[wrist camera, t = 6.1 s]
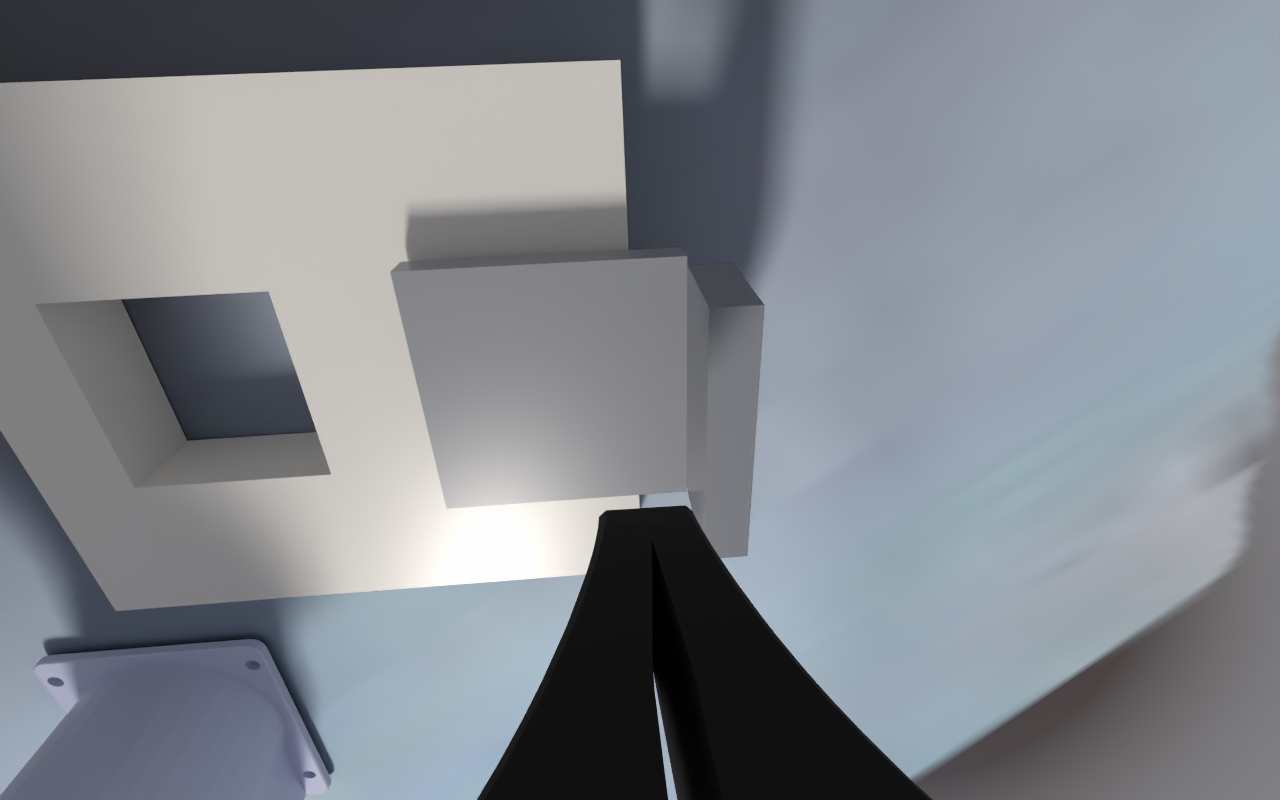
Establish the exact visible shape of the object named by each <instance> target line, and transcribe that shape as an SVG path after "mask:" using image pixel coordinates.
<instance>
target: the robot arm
mask: <svg viewBox="0 0 1280 800" xmlns="http://www.w3.org/2000/svg"><path fill="white" fill-rule="evenodd" d="M34 671H35V673H36V675H37V676H38V677H39V679H40V680H41V681H42V683H43V684H44V685H45V686H46V688H47V689H48V690H49V692H50V693H51V694H52V695H53V697H54V698H55V699H56V700H57V702H58V703H59V704H60V706H61V707H62V708H63V709H64V711H65V712H66V713H67V715H66V716H65V717H64V719H63V720H62V721H61V722H60V723H59V725H58V726H57V727H56V728H55V729H54V731H53V732H52V733H51V734H50V736H49V737H48V738H47V739H46V740H45V742H44V743H43V744H42V745H41V747H40V748H39V749H38V750H37V751H36V753H35V754H34V755H33V756H32V757H31V759H30V760H29V761H28V762H27V764H26V765H25V766H24V767H23V768H22V770H21V771H20V772H19V773H18V775H17V776H16V777H15V778H14V779H13V781H12V782H11V783H10V784H9V785H8V787H7V788H6V789H5V790H4V792H3V793H2V794H1V795H0V800H304V798H305V795H313V794H321V793H324V792H326V791H327V790H328V789H329V786H330V783H331V778H330V776H329V774H328V772H327V770H326V767H325V765H324V763H323V761H322V759H321V757H320V755H319V753H318V751H317V749H316V747H315V745H314V743H313V741H312V739H311V737H310V735H309V733H308V731H307V729H306V727H305V724H304V722H303V720H302V718H301V716H300V714H299V712H298V710H297V708H296V706H295V704H294V702H293V700H292V698H291V696H290V694H289V692H288V690H287V688H286V686H285V684H284V681H283V679H282V677H281V675H280V673H279V671H278V669H277V667H276V665H275V663H274V661H273V659H272V657H271V655H270V653H269V651H268V649H267V647H266V646H265V644H264V643H262V642H261V641H259V640H256V639H243V640H230V641H218V642H206V643H193V644H181V645H169V646H157V647H144V648H132V649H120V650H107V651H95V652H83V653H71V654H58V655H49V656H44V657H43V658H42V659H41V660H40V661H39V662H38V663H37V664H36V665H35V666H34ZM653 672H654V677H655V683H656V688H657V694H658V699H659V704H660V710H661V715H662V720H663V726H664V731H665V736H666V741H667V747H668V752H669V757H670V763H671V768H672V773H673V778H674V784H675V789H676V794H677V799H678V800H932V799H931V798H930V797H929V796H928V795H927V794H926V793H925V792H924V791H922V790H921V789H920V788H919V787H918V786H917V785H916V784H915V783H914V782H913V781H911V780H910V779H909V778H908V777H907V776H906V775H905V774H904V773H903V772H902V771H901V770H900V769H899V768H898V767H897V766H896V765H895V764H894V763H893V762H892V761H891V760H890V759H889V758H888V757H887V756H886V755H885V754H884V753H883V752H882V751H881V750H880V749H879V748H878V747H877V746H876V745H875V744H874V743H873V742H872V741H871V740H870V739H869V738H868V737H867V736H866V735H865V734H864V733H863V732H862V731H861V730H860V729H859V728H858V727H857V726H856V725H855V724H854V723H853V722H852V721H851V720H850V719H849V718H848V717H847V715H846V714H845V713H844V712H843V711H842V710H841V709H840V708H839V707H838V706H837V705H836V704H835V703H834V702H833V701H832V700H831V699H830V697H829V696H828V695H827V694H826V693H825V692H824V691H823V690H822V689H821V687H820V686H819V685H818V684H817V683H816V682H815V681H814V680H813V678H812V677H811V676H810V675H809V674H808V673H807V672H806V670H805V669H804V668H803V667H802V666H801V665H800V663H799V662H798V661H797V660H796V659H795V657H794V656H793V655H792V654H791V653H790V651H789V650H788V649H787V648H786V646H785V645H784V644H783V643H782V642H781V640H780V639H779V638H778V637H777V636H776V634H775V633H774V632H773V630H772V629H771V628H770V627H769V625H768V624H767V623H766V622H765V620H764V619H763V618H762V616H761V615H760V614H759V612H758V611H757V610H756V608H755V607H754V606H753V604H752V603H751V601H750V600H749V599H748V597H747V596H746V595H745V593H744V592H743V591H742V589H741V588H740V587H739V585H738V584H737V582H736V581H735V580H734V578H733V577H732V575H731V574H730V572H729V571H728V569H727V568H726V566H725V565H724V563H723V562H722V560H721V559H720V557H719V556H718V554H717V553H716V551H715V550H714V548H713V546H712V545H711V543H710V542H709V540H708V538H707V537H706V535H705V533H704V532H703V530H702V528H701V526H700V525H699V523H698V521H697V519H696V517H695V515H694V513H693V511H691V510H690V509H689V508H688V507H687V506H671V507H654V508H636V509H619V510H606V511H605V512H604V513H603V514H601V515H600V516H599V522H598V530H597V536H596V541H595V545H594V549H593V553H592V556H591V560H590V563H589V566H588V569H587V573H586V576H585V579H584V582H583V584H582V587H581V590H580V592H579V595H578V598H577V601H576V603H575V606H574V609H573V611H572V614H571V617H570V619H569V622H568V624H567V627H566V629H565V631H564V634H563V636H562V638H561V640H560V643H559V645H558V647H557V649H556V651H555V654H554V656H553V658H552V660H551V663H550V665H549V667H548V669H547V671H546V674H545V676H544V678H543V680H542V682H541V684H540V686H539V688H538V690H537V692H536V694H535V696H534V698H533V700H532V702H531V704H530V706H529V708H528V710H527V712H526V714H525V716H524V718H523V720H522V722H521V724H520V725H519V727H518V729H517V731H516V733H515V735H514V736H513V738H512V740H511V742H510V744H509V746H508V748H507V749H506V751H505V753H504V755H503V757H502V758H501V760H500V762H499V764H498V765H497V767H496V769H495V770H494V772H493V774H492V775H491V777H490V779H489V780H488V782H487V784H486V785H485V787H484V789H483V791H482V792H481V794H480V796H479V797H478V799H477V800H668V795H667V787H666V780H665V772H664V764H663V756H662V748H661V740H660V732H659V724H658V716H657V707H656V699H655V691H654V677H653Z"/></svg>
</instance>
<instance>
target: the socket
mask: <svg viewBox="0 0 1280 800" xmlns="http://www.w3.org/2000/svg"><path fill="white" fill-rule="evenodd" d="M615 250H629V249H628V225H627V202H626V179H625V156H624V133H623V109H622V86H621V63H620V60H603V61H576V62H549V63H523V64H496V65H469V66H442V67H415V68H388V69H362V70H335V71H308V72H281V73H254V74H227V75H201V76H174V77H147V78H120V79H93V80H67V81H40V82H13V83H0V431H1V432H2V434H3V435H4V437H5V438H6V440H7V442H8V443H9V445H10V446H11V448H12V449H13V451H14V453H15V454H16V456H17V457H18V459H19V460H20V462H21V464H22V465H23V467H24V468H25V470H26V471H27V473H28V474H29V476H30V478H31V479H32V481H33V482H34V484H35V485H36V487H37V489H38V490H39V492H40V493H41V495H42V496H43V498H44V500H45V501H46V503H47V504H48V506H49V507H50V509H51V510H52V512H53V514H54V515H55V517H56V518H57V520H58V521H59V523H60V525H61V526H62V528H63V529H64V531H65V532H66V534H67V536H68V537H69V539H70V540H71V542H72V543H73V545H74V546H75V548H76V550H77V551H78V553H79V554H80V556H81V557H82V559H83V561H84V562H85V564H86V565H87V567H88V568H89V570H90V572H91V573H92V575H93V576H94V578H95V579H96V581H97V582H98V584H99V586H100V587H101V589H102V590H103V592H104V593H105V595H106V597H107V598H108V600H109V601H110V603H111V604H112V606H113V608H114V609H115V611H124V610H137V609H150V608H163V607H175V606H188V605H201V604H214V603H226V602H239V601H252V600H265V599H277V598H290V597H303V596H316V595H328V594H341V593H354V592H367V591H379V590H392V589H405V588H418V587H430V586H443V585H456V584H469V583H482V582H494V581H507V580H520V579H533V578H545V577H558V576H571V575H584V574H586V573H587V569H588V566H589V563H590V560H591V556H592V553H593V549H594V545H595V541H596V536H597V530H598V522H599V516H600V515H601V514H603V513H604V512H605V511H606V510H619V509H636V508H640V504H639V495H630V496H616V497H602V498H588V499H574V500H560V501H547V502H533V503H519V504H505V505H491V506H478V507H464V508H450V509H446V504H445V500H444V496H443V492H442V488H441V483H440V479H439V475H438V471H437V467H436V462H435V458H434V454H433V450H432V446H431V442H430V437H429V433H428V429H427V425H426V421H425V416H424V412H423V408H422V404H421V400H420V395H419V391H418V387H417V383H416V379H415V374H414V370H413V366H412V362H411V358H410V353H409V349H408V345H407V341H406V337H405V332H404V328H403V324H402V320H401V316H400V311H399V307H398V303H397V299H396V295H395V291H394V286H393V282H392V278H391V274H390V272H391V271H392V270H393V269H394V268H395V267H396V266H397V265H398V264H399V263H400V262H406V261H425V260H444V259H463V258H482V257H501V256H520V255H539V254H558V253H577V252H596V251H615ZM264 291H269V294H270V297H271V300H272V303H273V306H274V309H275V312H276V314H277V317H278V320H279V323H280V326H281V329H282V332H283V335H284V338H285V341H286V344H287V347H288V349H289V352H290V355H291V358H292V361H293V364H294V367H295V370H296V373H297V376H298V379H299V382H300V384H301V387H302V390H303V393H304V396H305V399H306V402H307V405H308V408H309V411H310V414H311V416H312V419H313V422H314V425H315V428H316V431H317V432H311V433H296V434H281V435H265V436H250V437H235V438H220V439H204V440H189V441H187V439H186V437H185V435H184V433H183V431H182V429H181V426H180V424H179V422H178V420H177V418H176V416H175V414H174V412H173V409H172V407H171V405H170V403H169V401H168V399H167V397H166V394H165V392H164V390H163V388H162V386H161V384H160V382H159V380H158V377H157V375H156V373H155V371H154V369H153V367H152V365H151V362H150V360H149V358H148V356H147V354H146V352H145V350H144V347H143V345H142V343H141V341H140V339H139V337H138V335H137V333H136V330H135V328H134V326H133V324H132V322H131V320H130V318H129V315H128V313H127V311H126V309H125V307H124V305H123V303H122V300H121V299H135V298H154V297H172V296H191V295H209V294H227V293H246V292H264Z"/></svg>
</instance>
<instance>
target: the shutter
mask: <svg viewBox="0 0 1280 800" xmlns="http://www.w3.org/2000/svg"><path fill="white" fill-rule="evenodd" d="M390 274H391V278H392V282H393V286H394V291H395V295H396V299H397V303H398V307H399V311H400V316H401V320H402V324H403V328H404V332H405V337H406V341H407V345H408V349H409V353H410V358H411V362H412V366H413V370H414V374H415V379H416V383H417V387H418V391H419V395H420V400H421V404H422V408H423V412H424V416H425V421H426V425H427V429H428V433H429V437H430V442H431V446H432V450H433V454H434V458H435V462H436V467H437V471H438V475H439V479H440V483H441V488H442V492H443V496H444V500H445V504H446V509H450V508H464V507H478V506H491V505H505V504H519V503H533V502H547V501H560V500H574V499H588V498H602V497H616V496H630V495H643V494H657V493H671V492H685V491H686V486H687V490H688V494H689V499H690V503H691V507H692V511H693V513H694V515H695V517H696V519H697V521H698V523H699V525H700V526H701V528H702V530H703V532H704V533H705V535H706V537H707V538H708V540H709V542H710V543H711V545H712V546H713V548H714V550H715V551H716V553H717V554H718V556H719V557H720V558H726V557H739V556H747V552H748V537H749V523H750V508H751V494H752V479H753V465H754V450H755V436H756V421H757V407H758V392H759V378H760V363H761V349H762V334H763V320H764V304H763V302H762V301H761V300H760V298H759V297H758V296H757V295H756V293H755V292H754V291H753V289H752V288H751V287H750V285H749V284H748V283H747V281H746V280H745V279H744V278H743V276H742V275H741V274H740V272H739V271H738V270H737V268H736V267H735V266H734V264H733V263H717V264H698V265H687V255H686V253H685V251H684V249H683V247H672V248H653V249H634V250H615V251H596V252H577V253H558V254H539V255H520V256H501V257H482V258H463V259H444V260H425V261H406V262H400V263H399V264H398V265H397V266H396V267H395V268H394V269H393V270H392V271H391V272H390ZM686 460H687V461H686Z"/></svg>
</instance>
